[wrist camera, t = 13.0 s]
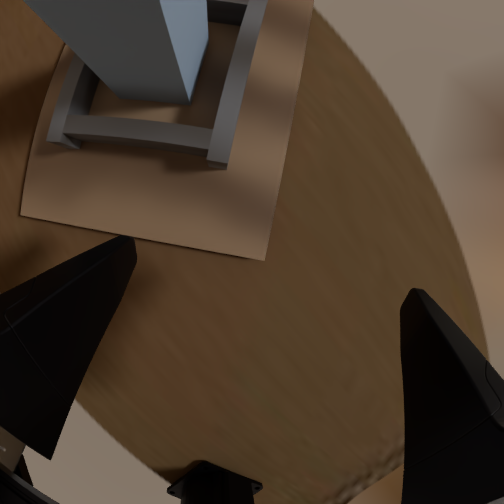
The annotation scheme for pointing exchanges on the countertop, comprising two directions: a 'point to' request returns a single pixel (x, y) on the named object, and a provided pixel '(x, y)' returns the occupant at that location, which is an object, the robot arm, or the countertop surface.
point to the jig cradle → (178, 140)
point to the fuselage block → (135, 43)
